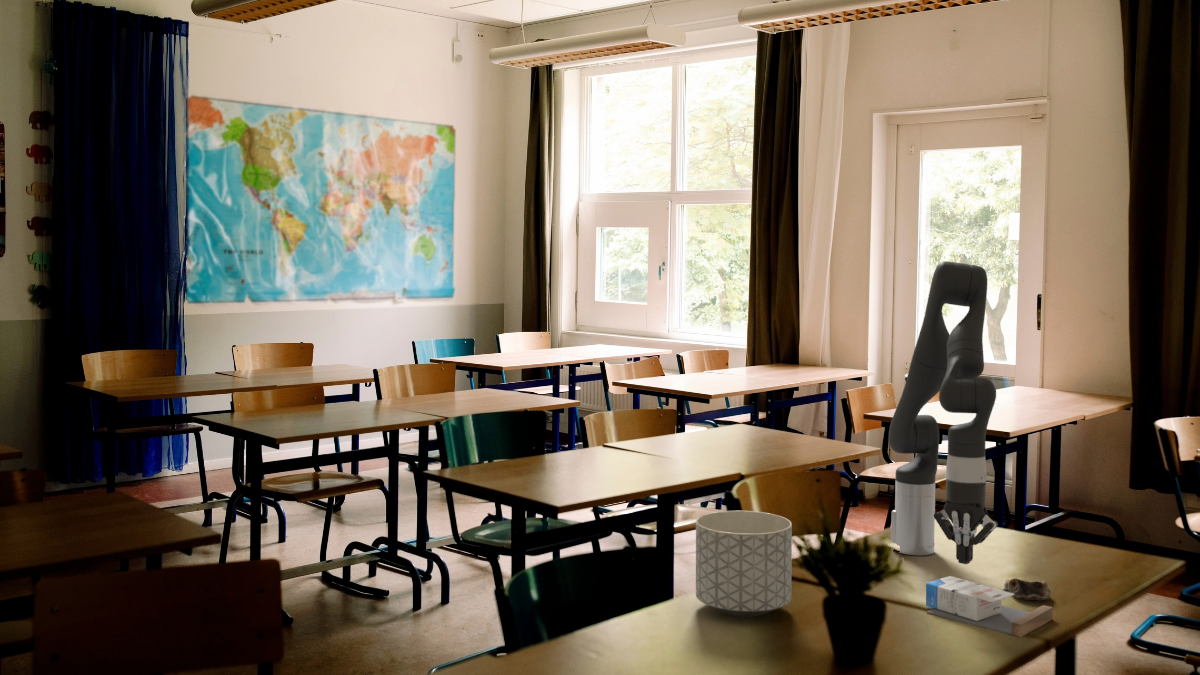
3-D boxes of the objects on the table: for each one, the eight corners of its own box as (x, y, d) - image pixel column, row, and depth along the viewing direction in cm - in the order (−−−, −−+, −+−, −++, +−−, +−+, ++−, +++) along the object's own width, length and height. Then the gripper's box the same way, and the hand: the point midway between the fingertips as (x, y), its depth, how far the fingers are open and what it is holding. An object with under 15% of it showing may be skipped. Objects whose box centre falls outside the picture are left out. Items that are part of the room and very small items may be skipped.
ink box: (925, 606, 204) (990, 626, 192) (925, 582, 203) (990, 601, 192) (950, 598, 209) (1015, 617, 197) (950, 574, 208) (1016, 592, 197)
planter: (802, 625, 194) (803, 532, 193) (704, 628, 193) (704, 535, 192) (778, 594, 213) (778, 509, 212) (688, 596, 212) (689, 511, 210)
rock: (1057, 604, 206) (1042, 581, 216) (1052, 579, 205) (1037, 556, 215) (1014, 613, 208) (1001, 589, 217) (1008, 588, 207) (995, 565, 216)
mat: (927, 612, 201) (927, 611, 201) (960, 597, 211) (960, 595, 210) (1010, 634, 189) (1010, 633, 189) (1042, 616, 198) (1042, 615, 198)
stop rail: (1011, 634, 189) (1011, 622, 188) (1043, 617, 198) (1043, 605, 198) (1021, 637, 187) (1021, 624, 187) (1052, 619, 197) (1052, 607, 197)
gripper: (925, 475, 203) (924, 560, 204) (989, 485, 193) (987, 573, 195) (944, 470, 208) (942, 553, 209) (1006, 479, 199) (1005, 566, 200)
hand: (964, 562), depth 202 cm, fingers closed
